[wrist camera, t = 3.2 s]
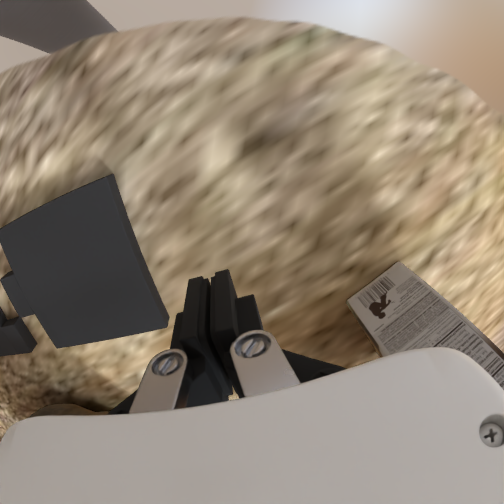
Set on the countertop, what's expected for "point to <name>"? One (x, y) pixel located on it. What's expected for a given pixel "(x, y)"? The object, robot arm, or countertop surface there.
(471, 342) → the coffee box
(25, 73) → the countertop surface
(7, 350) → the base pad
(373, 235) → the countertop surface
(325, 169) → the countertop surface
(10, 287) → the pad
